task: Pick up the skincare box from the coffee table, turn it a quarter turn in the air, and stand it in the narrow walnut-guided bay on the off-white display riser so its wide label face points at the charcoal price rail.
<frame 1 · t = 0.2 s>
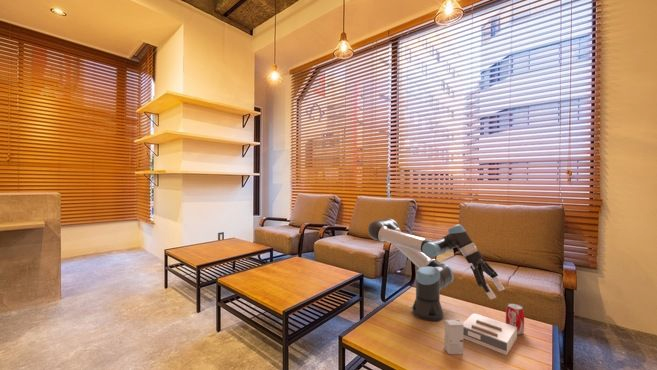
hand: (497, 294, 133), 15 cm above the table, tool tilted 35°, fingers open, 13 cm apart
skincare box: (453, 351, 114), on the table
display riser: (488, 337, 124), on the table
soda can: (514, 332, 129), on the table
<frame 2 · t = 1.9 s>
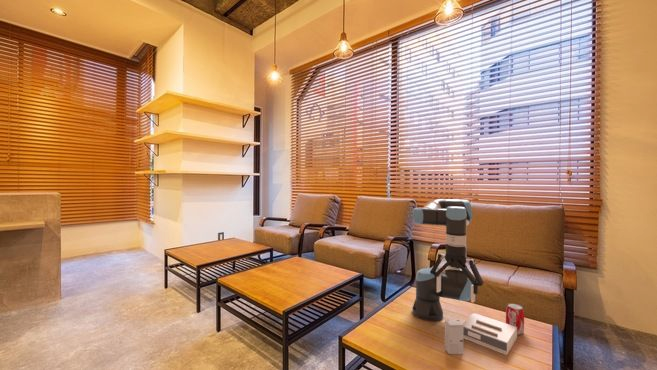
hand: (455, 296, 114), 23 cm above the table, tool pointing down, fingers open, 13 cm apart
nothing on the table moved.
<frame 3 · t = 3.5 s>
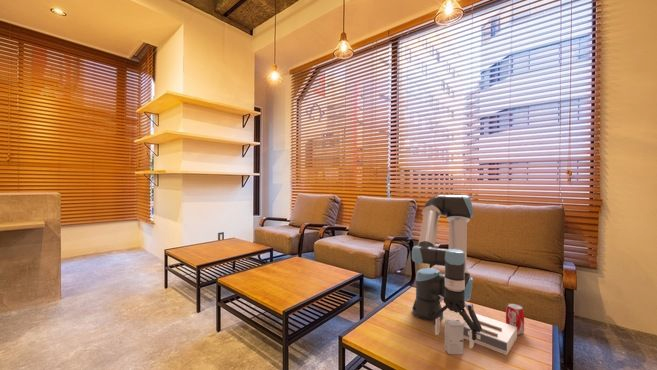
hand: (453, 339, 114), 5 cm above the table, tool pointing down, fingers open, 13 cm apart
nothing on the table moved.
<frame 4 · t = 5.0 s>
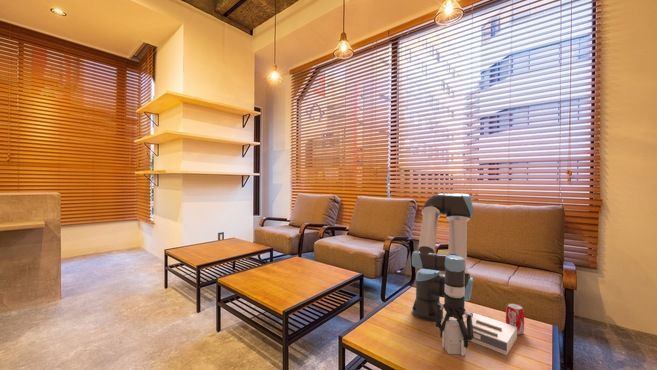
hand: (453, 349, 114), 1 cm above the table, tool pointing down, fingers closed on skincare box, 7 cm apart
skincare box: (453, 351, 114), on the table, touching gripper
everything else where it was.
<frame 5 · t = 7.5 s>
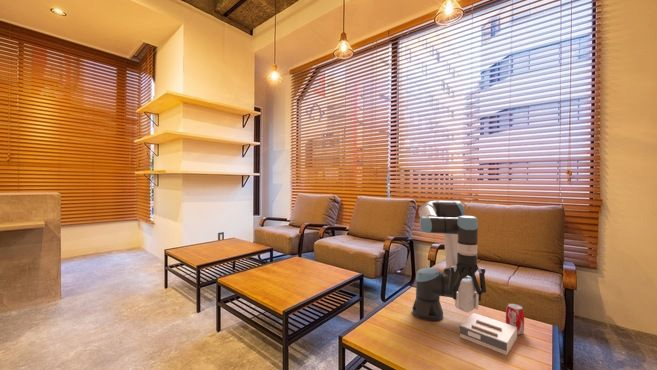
hand: (466, 307, 116), 17 cm above the table, tool pointing down, fingers closed on skincare box, 7 cm apart
skincare box: (466, 309, 116), point 16 cm above the table, touching gripper
everything else where it was.
when the fingers open (7 cm above the table, at t = 10.0 s): skincare box stays where it is, resting on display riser.
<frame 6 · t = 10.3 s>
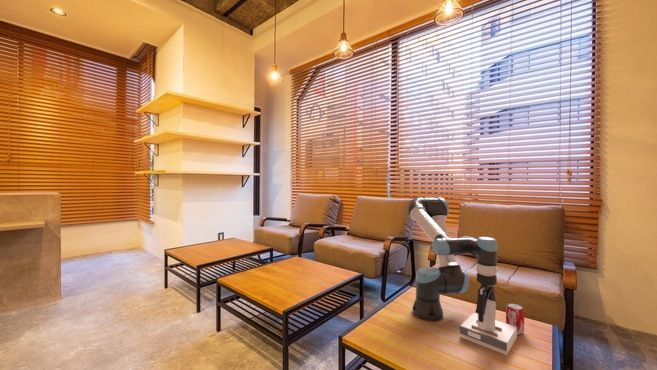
hand: (485, 323, 121), 8 cm above the table, tool pointing down, fingers open, 11 cm apart
skincare box: (485, 328, 121), point 5 cm above the table, touching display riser
everything else where it was.
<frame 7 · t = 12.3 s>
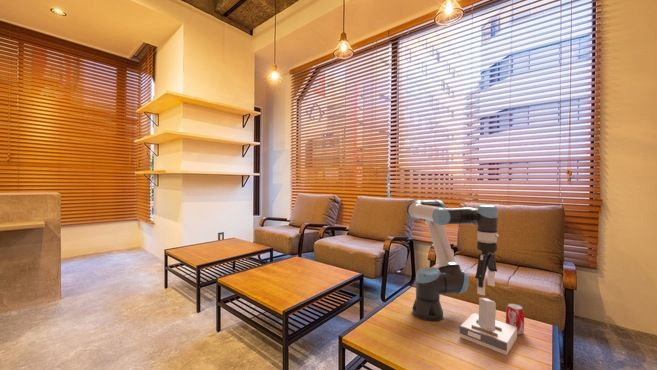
hand: (486, 289, 120), 23 cm above the table, tool pointing down, fingers open, 13 cm apart
nothing on the table moved.
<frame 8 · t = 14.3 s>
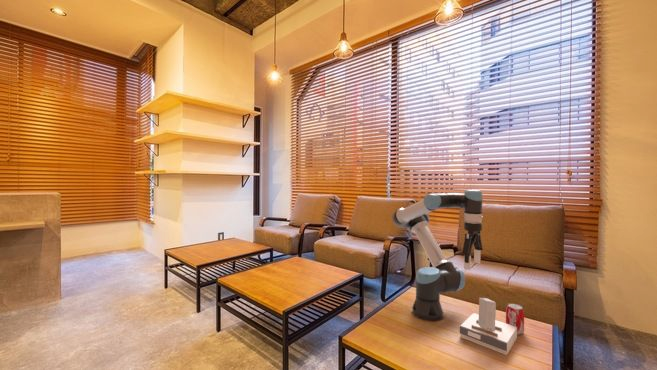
hand: (472, 266, 134), 29 cm above the table, tool pointing down, fingers open, 13 cm apart
nothing on the table moved.
at the end: skincare box 1.1 cm from the target spot on the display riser, point 5.5 cm above the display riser's base; skincare box tilted 11°; the gripper is holding nothing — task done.
